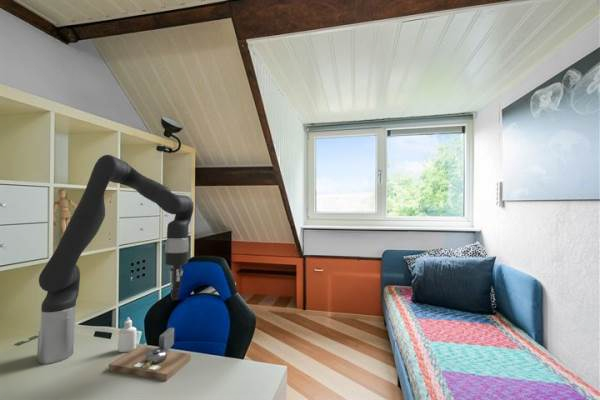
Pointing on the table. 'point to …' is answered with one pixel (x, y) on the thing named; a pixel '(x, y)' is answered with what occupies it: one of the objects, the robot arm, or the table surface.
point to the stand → (162, 370)
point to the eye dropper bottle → (127, 337)
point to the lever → (160, 348)
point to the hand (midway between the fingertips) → (174, 299)
